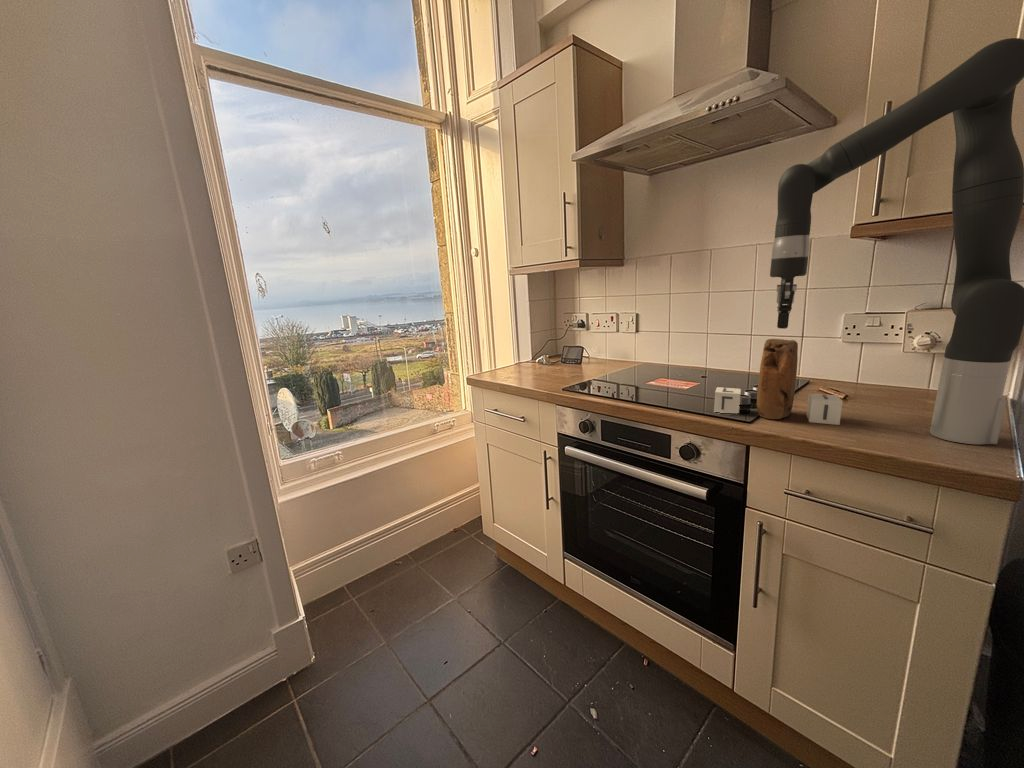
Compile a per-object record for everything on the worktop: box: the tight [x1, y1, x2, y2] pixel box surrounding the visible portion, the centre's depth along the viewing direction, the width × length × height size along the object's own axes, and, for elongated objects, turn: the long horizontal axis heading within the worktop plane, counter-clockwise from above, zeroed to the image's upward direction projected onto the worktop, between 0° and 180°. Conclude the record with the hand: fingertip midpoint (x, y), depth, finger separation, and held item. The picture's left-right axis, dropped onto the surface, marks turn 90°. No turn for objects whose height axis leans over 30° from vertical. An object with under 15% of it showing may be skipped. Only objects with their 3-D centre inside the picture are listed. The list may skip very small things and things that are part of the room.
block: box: [756, 338, 799, 420], centre depth 107 cm, size 11×8×20 cm
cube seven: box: [713, 386, 742, 414], centre depth 114 cm, size 6×6×6 cm
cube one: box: [806, 393, 844, 426], centre depth 103 cm, size 6×6×6 cm
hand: (782, 328), depth 104 cm, fingers closed
